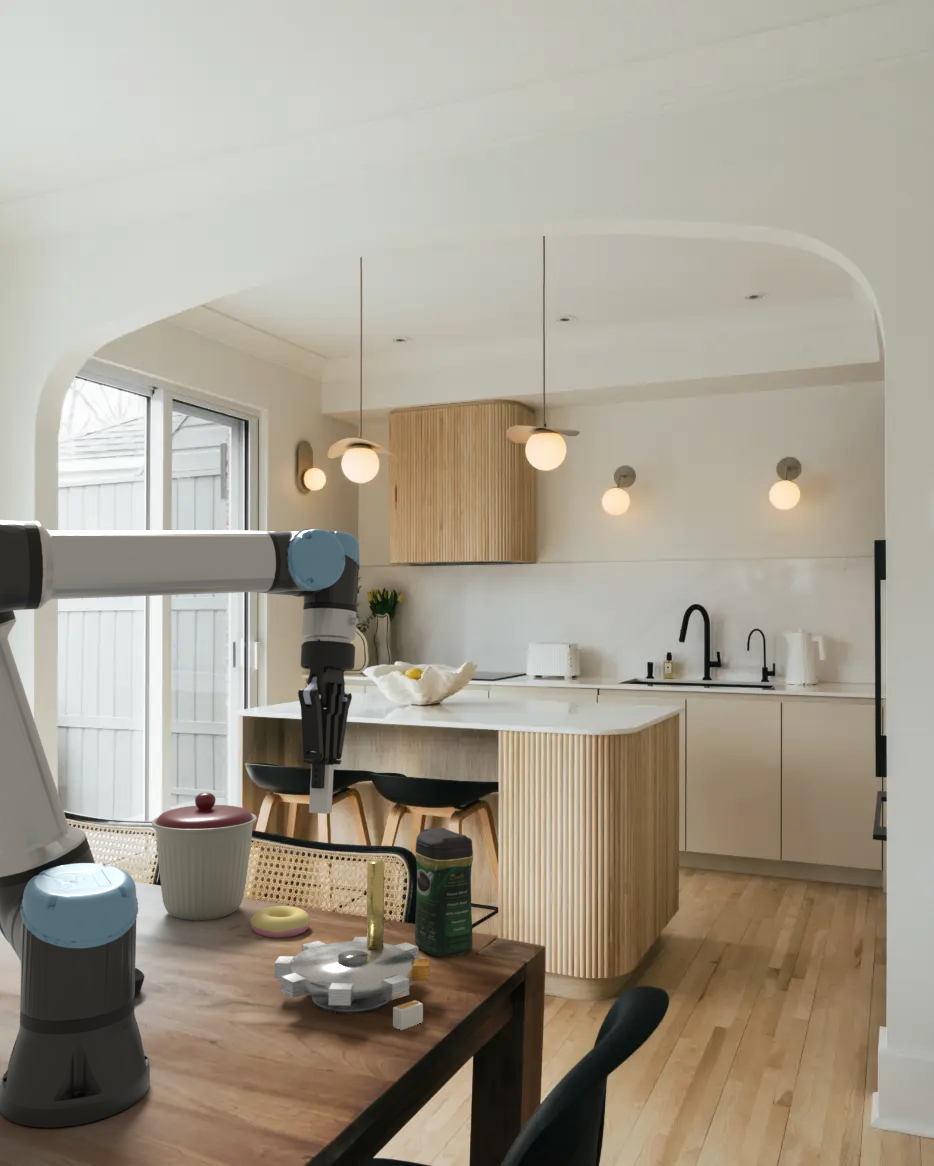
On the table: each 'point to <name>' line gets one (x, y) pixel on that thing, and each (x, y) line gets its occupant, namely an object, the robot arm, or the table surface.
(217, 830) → the canister
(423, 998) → the table surface
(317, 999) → the disc
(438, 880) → the coffee jar
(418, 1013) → the pointer
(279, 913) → the donut
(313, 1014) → the table surface
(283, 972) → the sprocket
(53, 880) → the robot arm
